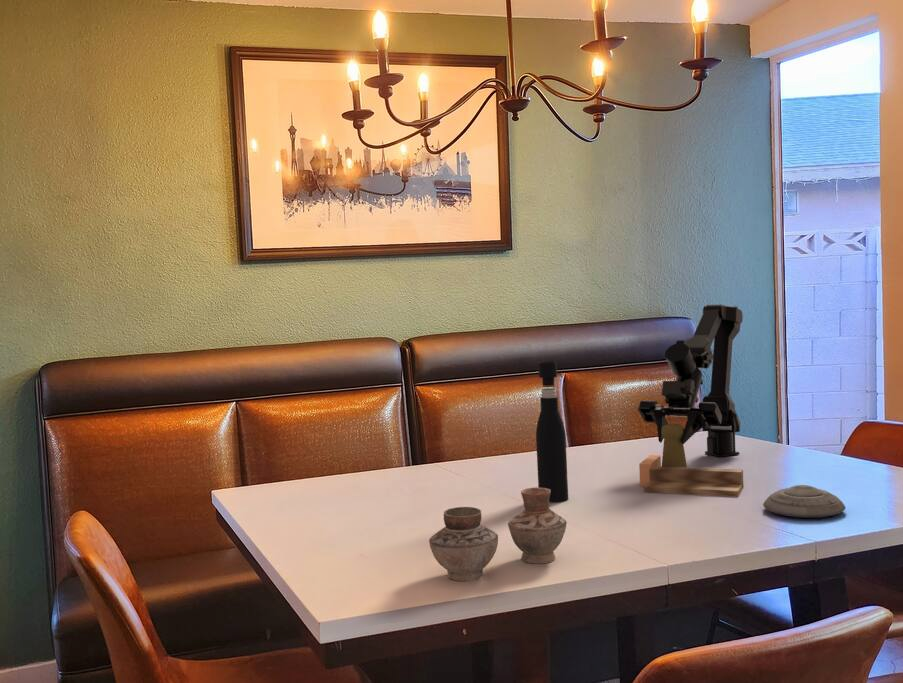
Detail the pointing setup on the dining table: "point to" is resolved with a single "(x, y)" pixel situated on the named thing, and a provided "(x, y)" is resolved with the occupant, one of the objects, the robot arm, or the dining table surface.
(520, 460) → the dining table surface
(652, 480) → the guide rail
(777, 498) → the flying saucer
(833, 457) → the dining table surface
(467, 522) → the pottery
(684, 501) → the dining table surface
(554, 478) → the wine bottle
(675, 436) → the cork
